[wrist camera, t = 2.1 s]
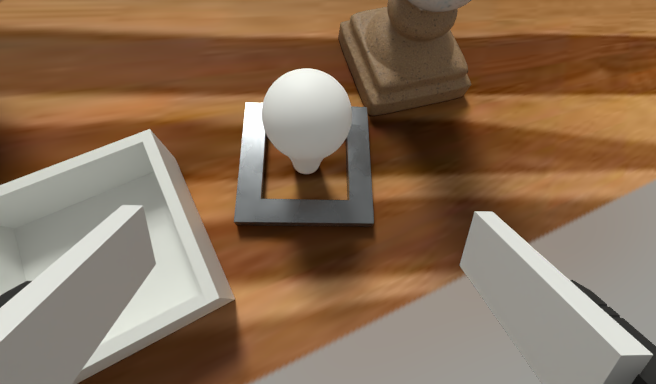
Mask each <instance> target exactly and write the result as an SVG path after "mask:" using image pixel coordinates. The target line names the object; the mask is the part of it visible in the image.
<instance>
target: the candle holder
mask: <svg viewBox="0 0 656 384" xmlns="http://www.w3.org/2000/svg"><path fill="white" fill-rule="evenodd" d="M470 1H471V0H388V6H387V7H384V8H379V9H373V10H367V11H363V12H359V13H356V14H354V15H352V16H351V18H350V20H349V21H345V22H342V23H340V30H339V38H338V39H339V42H340V45H341V48H342V51H343V53H344V56H345V59H346V61H347V64H348V66H349V69H350V72H351V74H352V77H353V79H354V82H355V84H356V87H357V90H358V92H359V95H360V97H361V100H362V102H363V105H364V107H367V113H368V114H369V115H370V116H377V115H383V114H388V113H393V112H398V111H402V110H407V109H412V108H416V107H421V106H426V105H430V104H435V103H439V102H444V101H449V100H452V99H456V98H460V97H462V96H463V95H464V94H465V92H466V91H467V90H468V88H469V87H470V86H471V82H470V80H469V78H468V75H467V72H468V68H467V63H466V61H465V58H464V56H463V54H462V52H461V50H460V48H459V46H458V44H457V42H456V40H455V38H454V36H453V34H452V32H451V31H450V29H451V28H452V26H453V25H454V22H455V20H456V17H457V9H458V8H460V7H462V6H464V5H466V4H467V3H469V2H470Z"/></svg>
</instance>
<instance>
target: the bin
mask: <svg viewBox="0 0 656 384" xmlns="http://www.w3.org/2000/svg"><path fill="white" fill-rule="evenodd" d="M122 205H143V207H144V212H145V216H146V221H147V225H148V230H149V234H150V239H151V243H152V248H153V252H154V257H155V261H156V265H155V266H154V268H153V269H152V271H151V272H150V274H149V275H148V276H147V278H146V279H145V281H144V282H143V284H142V285H141V286H140V288H139V289H138V291H137V292H136V293H135V295H134V296H133V298H132V299H131V301H130V302H129V303H128V305H127V306H126V308H125V309H124V311H123V312H122V313H121V315H120V316H119V318H118V319H117V320H116V322H115V323H114V325H113V326H112V328H111V329H110V330H109V332H108V333H107V335H106V336H105V338H104V339H103V340H102V342H101V343H100V345H99V346H98V348H97V349H96V350H95V352H94V353H93V355H92V356H91V357H90V359H89V360H88V362H87V363H86V365H85V366H84V367H83V369H82V370H81V372H80V373H79V375H78V376H77V377H76V379H75V380H74V382H73V383H72V384H77V383H79V382H81V381H83V380H85V379H87V378H89V377H90V376H92V375H94V374H96V373H98V372H100V371H102V370H104V369H105V368H107V367H109V366H111V365H113V364H115V363H117V362H119V361H120V360H122V359H124V358H126V357H128V356H130V355H132V354H134V353H136V352H137V351H139V350H141V349H143V348H145V347H147V346H149V345H151V344H152V343H154V342H156V341H158V340H160V339H162V338H164V337H166V336H167V335H169V334H171V333H173V332H175V331H177V330H179V329H181V328H182V327H184V326H186V325H188V324H190V323H192V322H194V321H196V320H197V319H199V318H201V317H203V316H205V315H207V314H209V313H211V312H212V311H214V310H216V309H218V308H220V307H222V306H224V305H226V304H227V303H229V302H231V301H233V300H235V298H234V295H233V293H232V291H231V288H230V286H229V284H228V281H227V279H226V276H225V274H224V272H223V269H222V267H221V265H220V262H219V260H218V258H217V255H216V253H215V251H214V248H213V246H212V244H211V241H210V239H209V237H208V234H207V232H206V229H205V227H204V225H203V222H202V220H201V218H200V215H199V213H198V211H197V208H196V206H195V204H194V201H193V199H192V197H191V194H190V192H189V190H188V187H187V185H186V182H185V180H184V178H183V175H182V173H181V171H180V168H179V166H178V164H177V161H176V159H175V158H174V156H173V155H172V154H171V153H170V152H169V151H168V149H167V148H166V147H165V146H164V145H163V144H162V143H161V141H160V140H159V139H158V138H157V137H156V136H155V134H154V133H153V132H152V131H151V130H150V129H149V130H146V131H143V132H141V133H138V134H135V135H133V136H130V137H127V138H125V139H122V140H119V141H117V142H114V143H111V144H109V145H106V146H103V147H101V148H98V149H95V150H93V151H90V152H87V153H85V154H82V155H79V156H77V157H74V158H71V159H69V160H66V161H63V162H61V163H58V164H55V165H53V166H50V167H48V168H45V169H42V170H40V171H37V172H34V173H32V174H29V175H26V176H24V177H21V178H18V179H16V180H13V181H10V182H8V183H5V184H2V185H0V296H1V295H2V294H3V293H5V292H7V291H9V290H11V289H12V288H14V287H16V286H18V285H20V284H22V283H24V282H25V281H33V280H34V279H35V278H36V277H38V276H39V275H40V274H41V273H42V272H44V271H45V270H46V269H47V268H48V267H49V266H51V265H52V264H53V263H54V262H55V261H57V260H58V259H59V258H60V257H61V256H62V255H64V254H65V253H66V252H67V251H68V250H70V249H71V248H72V247H73V246H74V245H75V244H77V243H78V242H79V241H80V240H81V239H83V238H84V237H85V236H86V235H87V234H88V233H90V232H91V231H92V230H93V229H94V228H96V227H97V226H98V225H99V224H100V223H102V222H103V221H104V220H105V219H106V218H107V217H109V216H110V215H111V214H112V213H113V212H115V211H116V210H117V209H118V208H119V207H120V206H122Z"/></svg>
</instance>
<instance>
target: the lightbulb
mask: <svg viewBox="0 0 656 384" xmlns="http://www.w3.org/2000/svg"><path fill="white" fill-rule="evenodd" d="M262 122H263V126H264V130H265V133H266V135H267V137H268V138H269V140H270V141H271V142H272V144H273V145H274V146H275V147H276V148H277V149H278V150H279V151H280V152H281V153H283V154H285V155H287V156H288V157H289V158H290V159H291V161H292V164H293V167H294V168H295V170H296V171H298V172H299V173H302V174H311V173H313V172H315V171H316V170H317V169H318V167H319V165H320V162H321V161H322V159H323V158H324V157H327V156H329V155H330V154H332V153H333V152H335V151H336V150H337V149H338V148H339V147H340V146H341V145H342V144H343V142H344V141H345V139H346V138H347V136H348V133H349V130H350V127H351V123H352V110H351V104H350V101H349V98H348V95H347V93H346V91H345V90H344V88H343V87H342V86H341V85H340V83H339V82H338V81H337V80H336V79H334V78H333V77H332V76H330V75H329V74H327V73H325V72H322V71H319V70H316V69H297V70H293V71H290V72H288V73H286V74H284V75H282V76H281V77H280V78H279V79H277V80H276V81H275V82H274V83H273V84H272V85H271V87H270V88H269V90H268V92H267V94H266V96H265V98H264V102H263V106H262Z"/></svg>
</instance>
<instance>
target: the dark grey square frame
mask: <svg viewBox="0 0 656 384" xmlns="http://www.w3.org/2000/svg"><path fill="white" fill-rule="evenodd" d="M262 106H263V103H247V102H246V104H245V115H244V125H243V135H242V145H241V155H240V166H239V176H238V186H237V196H236V207H235V217H234V222H235V224H236V225H250V226H347V227H371V226H372V225H373V224H374V216H373V199H372V183H371V166H370V150H369V133H368V117H367V107H351V110H352V123H351V127H350V130H349V133H348V136H347V138H346V169H347V200H301V199H263V186H264V171H265V157H266V142H267V135H266V133H265V130H264V126H263V122H262Z"/></svg>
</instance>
